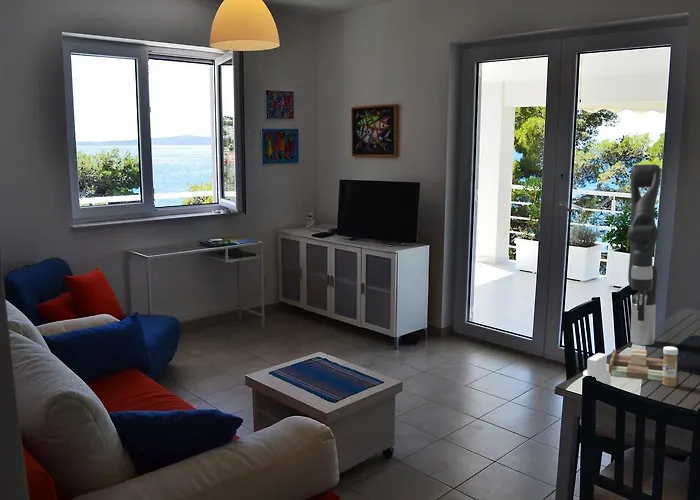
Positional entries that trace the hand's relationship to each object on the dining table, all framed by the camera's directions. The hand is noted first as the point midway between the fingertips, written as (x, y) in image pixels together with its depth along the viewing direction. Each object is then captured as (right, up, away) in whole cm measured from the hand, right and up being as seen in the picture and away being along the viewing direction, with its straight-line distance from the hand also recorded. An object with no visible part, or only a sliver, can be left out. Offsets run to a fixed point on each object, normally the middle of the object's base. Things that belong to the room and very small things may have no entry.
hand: (640, 320), depth 242 cm
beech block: (-4, -15, -6) cm, 17 cm away
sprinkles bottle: (-1, -20, -24) cm, 31 cm away
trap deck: (-5, -18, -8) cm, 20 cm away
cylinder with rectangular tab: (-27, -22, -25) cm, 43 cm away
